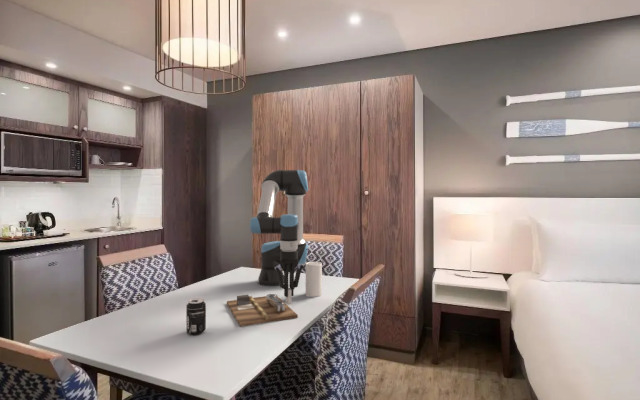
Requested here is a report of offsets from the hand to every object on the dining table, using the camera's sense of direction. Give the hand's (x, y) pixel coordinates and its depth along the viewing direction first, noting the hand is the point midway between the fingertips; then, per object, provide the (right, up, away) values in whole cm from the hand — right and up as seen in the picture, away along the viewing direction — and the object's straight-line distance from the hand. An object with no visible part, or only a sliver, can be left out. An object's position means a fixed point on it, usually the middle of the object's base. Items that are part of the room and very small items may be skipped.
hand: (288, 303), depth 152 cm
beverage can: (-33, -4, -22) cm, 40 cm away
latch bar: (-6, -1, +2) cm, 6 cm away
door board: (-13, -4, +2) cm, 13 cm away
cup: (+10, -3, +26) cm, 28 cm away
